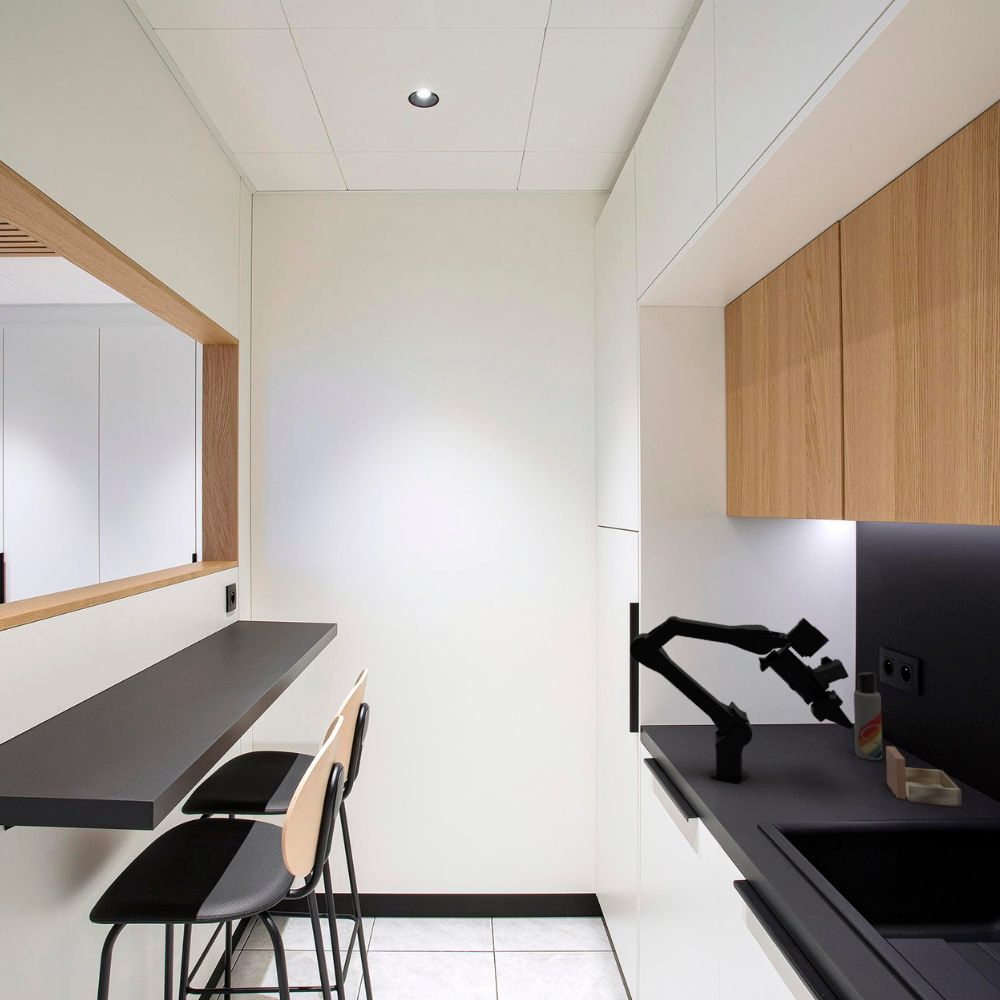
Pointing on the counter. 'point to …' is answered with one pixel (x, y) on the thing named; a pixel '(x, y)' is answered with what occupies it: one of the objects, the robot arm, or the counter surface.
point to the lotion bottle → (867, 718)
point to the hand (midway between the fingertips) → (851, 727)
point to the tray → (931, 787)
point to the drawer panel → (896, 772)
